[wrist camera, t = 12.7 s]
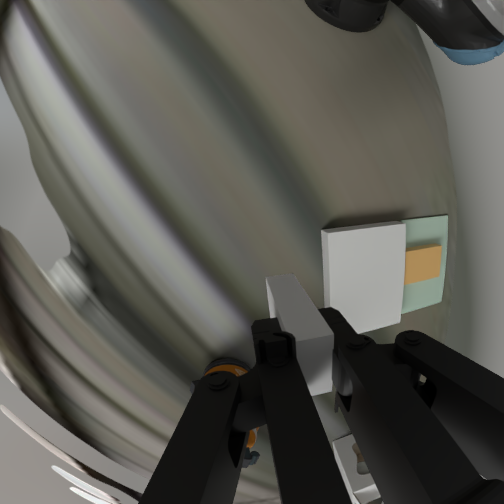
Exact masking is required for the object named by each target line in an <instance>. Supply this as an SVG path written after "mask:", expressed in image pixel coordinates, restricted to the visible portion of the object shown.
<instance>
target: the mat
mask: <svg viewBox="0 0 504 504" xmlns="http://www.w3.org/2000/svg"><path fill="white" fill-rule="evenodd" d="M401 222H402V223H406V248H409V247H416V246H422V245H428V244H434V243H436V244H439V245H442V252H441V265H440V275H439V277H435V278H431V279H427V280H423V281H419V282H415V283H411V284H407V285H404V288H403V300H402V310H401V314H403V313H407V312H410V311H413V310H417V309H420V308H423V307H426V306H430V305H433V304H436V303H439V302H441V300H442V294H443V286H444V277H445V267H446V255H447V236H448V215H444V216H435V217H425V218H416V219H407V220H401Z"/></svg>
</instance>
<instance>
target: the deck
mask: <svg viewBox="0 0 504 504" xmlns="http://www.w3.org/2000/svg"><path fill="white" fill-rule="evenodd" d="M321 237H322V254H323V275H324V308H327V307H332V308H334V309H336V310H338V311H339V312H340V313H341V314H342V315H343V317H344V318H345V319H346V320H347V322H348V323H349V324H350V325H351V326H352V328H353V329H354V330H355V331H356V332H357V334H359V333H363V332H367V331H371V330H375V329H378V328H382V327H386V326H389V325H393V324H396V323H399V322H400V318H401V310H402V300H403V288H404V274H405V250H406V223H402V222H399V221H390V222H381V223H373V224H364V225H356V226H348V227H339V228H331V229H323V230H321Z"/></svg>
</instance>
